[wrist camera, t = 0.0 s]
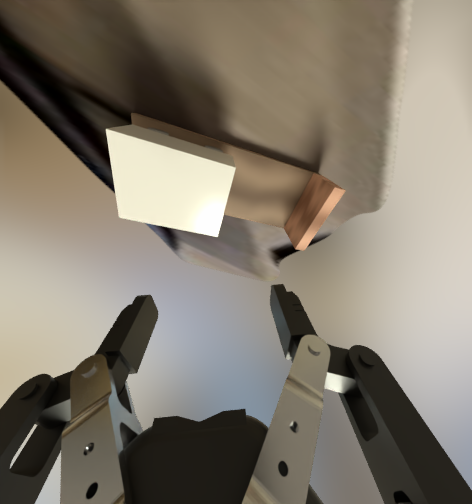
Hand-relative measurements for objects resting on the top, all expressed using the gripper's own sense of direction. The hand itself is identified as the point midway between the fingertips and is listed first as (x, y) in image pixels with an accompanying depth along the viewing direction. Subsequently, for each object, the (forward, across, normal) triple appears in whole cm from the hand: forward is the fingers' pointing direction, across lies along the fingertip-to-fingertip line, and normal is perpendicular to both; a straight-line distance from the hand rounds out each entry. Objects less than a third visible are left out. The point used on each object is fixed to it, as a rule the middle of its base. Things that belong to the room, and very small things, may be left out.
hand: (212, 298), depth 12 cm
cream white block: (+20, +4, -6) cm, 21 cm away
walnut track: (+22, -2, -4) cm, 22 cm away
